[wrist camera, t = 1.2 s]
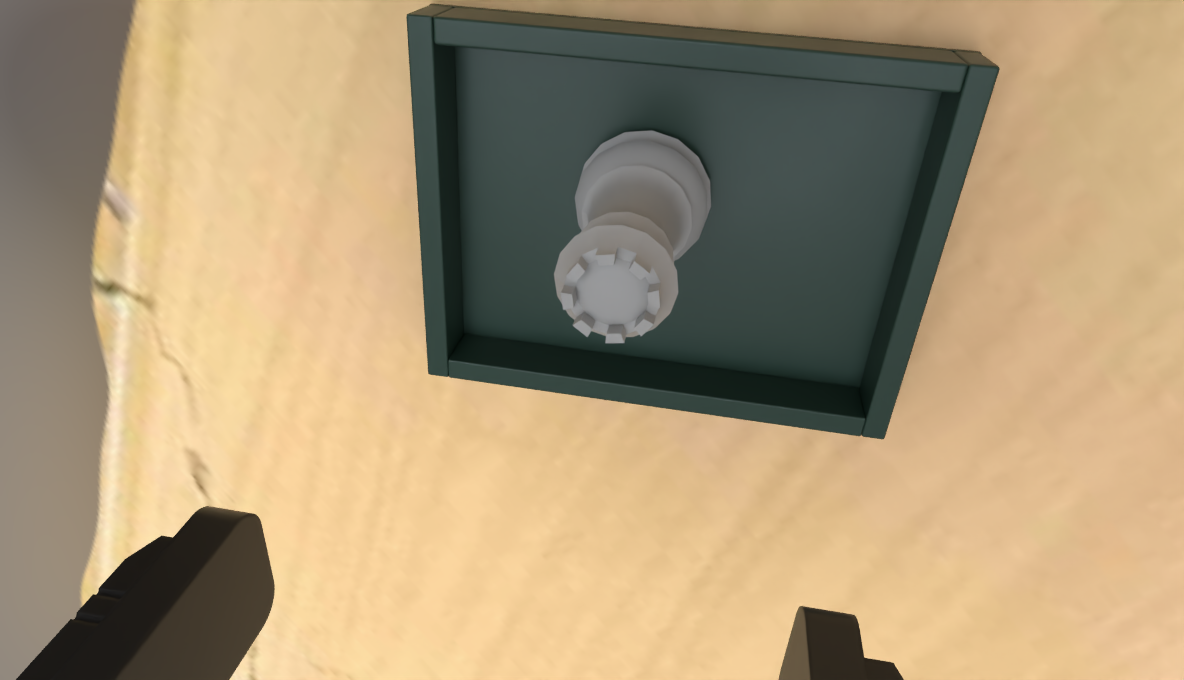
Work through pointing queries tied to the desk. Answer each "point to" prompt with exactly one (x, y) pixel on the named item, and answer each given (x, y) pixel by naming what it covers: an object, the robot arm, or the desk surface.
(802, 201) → the tray
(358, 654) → the desk surface
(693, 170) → the rook chess piece
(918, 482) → the desk surface
